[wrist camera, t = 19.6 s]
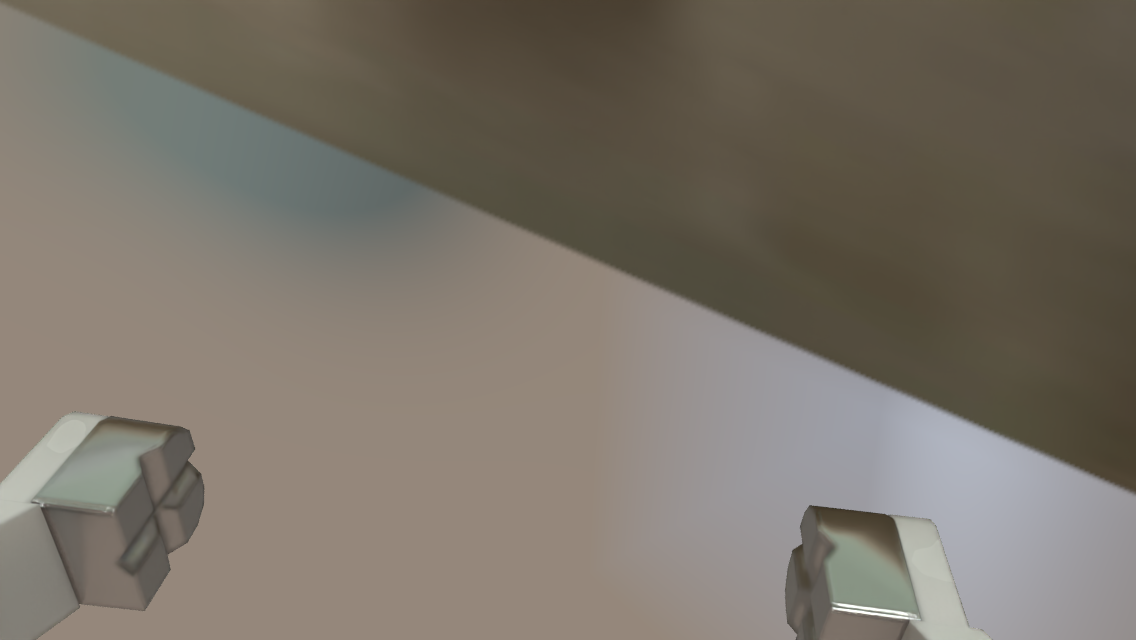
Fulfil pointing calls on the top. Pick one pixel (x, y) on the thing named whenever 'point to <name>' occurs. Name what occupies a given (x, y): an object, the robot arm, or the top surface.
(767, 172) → the top surface
